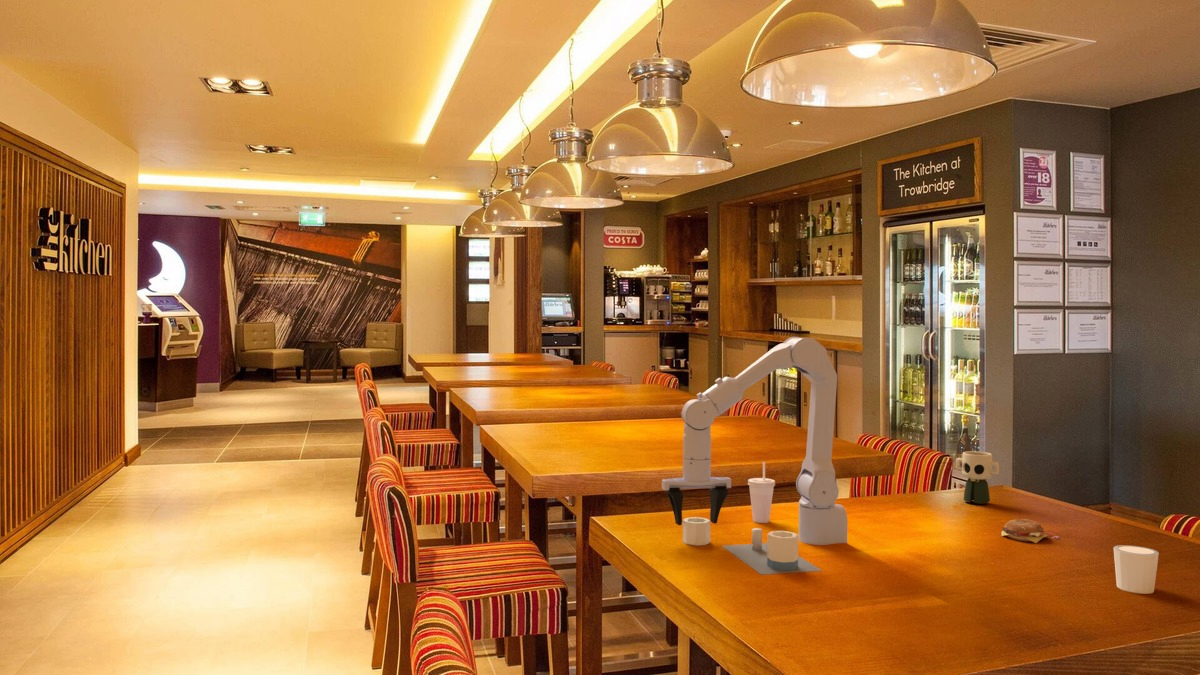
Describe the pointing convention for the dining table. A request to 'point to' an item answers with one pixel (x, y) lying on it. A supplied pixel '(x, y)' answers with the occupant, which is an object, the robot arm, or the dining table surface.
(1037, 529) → the hamburger
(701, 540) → the sleeve
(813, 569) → the pin board
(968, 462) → the character mug
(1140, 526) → the dining table surface
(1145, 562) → the white cup
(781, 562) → the seated sleeve
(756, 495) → the smoothie
